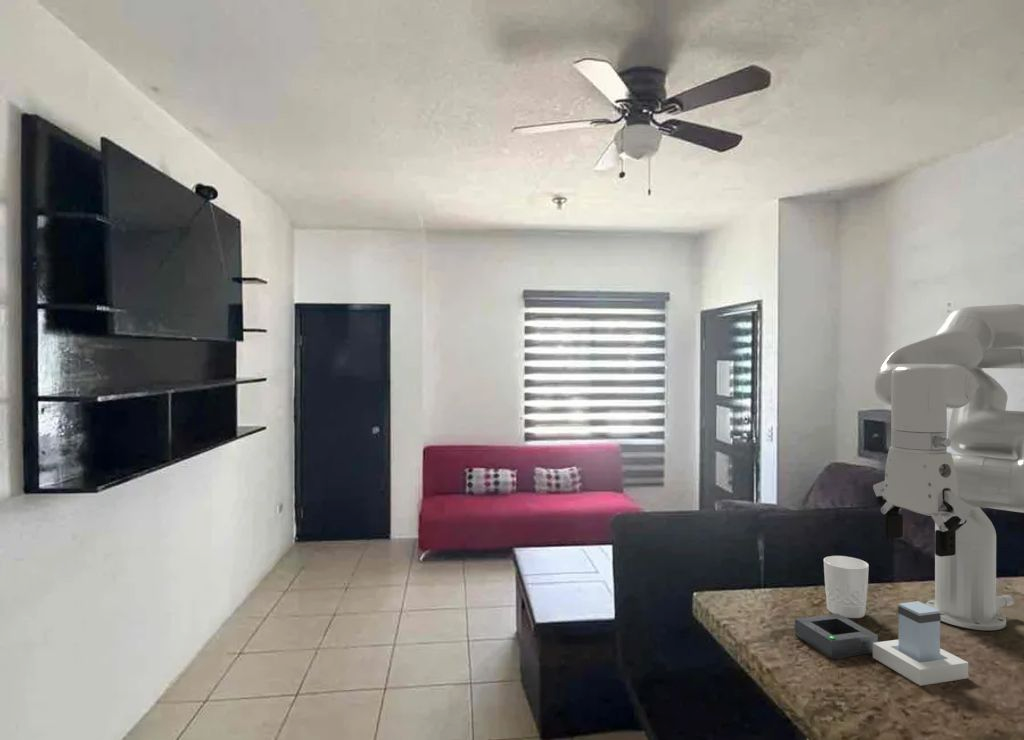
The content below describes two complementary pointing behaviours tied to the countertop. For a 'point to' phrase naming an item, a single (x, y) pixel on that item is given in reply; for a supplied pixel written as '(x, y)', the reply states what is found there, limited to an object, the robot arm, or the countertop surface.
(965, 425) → the robot arm
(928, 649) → the plug
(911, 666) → the holster
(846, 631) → the port
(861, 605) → the white cup
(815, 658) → the countertop surface
